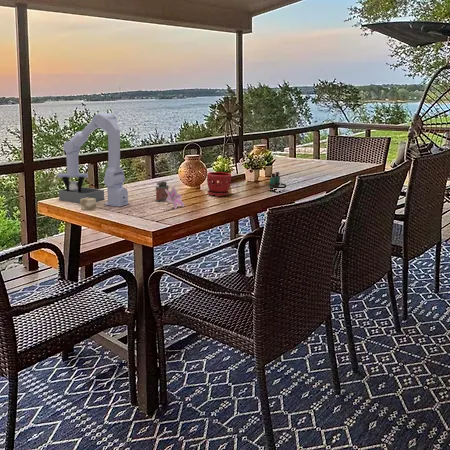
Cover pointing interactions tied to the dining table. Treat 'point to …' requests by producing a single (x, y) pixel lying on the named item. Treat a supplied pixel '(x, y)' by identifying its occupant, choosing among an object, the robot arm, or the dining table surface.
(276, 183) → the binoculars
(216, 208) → the dining table surface
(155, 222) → the dining table surface
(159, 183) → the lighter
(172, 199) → the lily
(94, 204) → the maple cube
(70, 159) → the robot arm
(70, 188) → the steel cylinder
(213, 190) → the plant pot
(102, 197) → the tote
